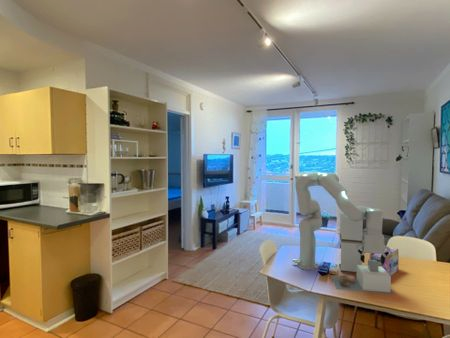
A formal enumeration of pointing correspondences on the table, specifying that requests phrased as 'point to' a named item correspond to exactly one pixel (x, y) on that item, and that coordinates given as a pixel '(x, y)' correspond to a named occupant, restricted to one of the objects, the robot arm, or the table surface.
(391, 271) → the gum box
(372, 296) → the table surface
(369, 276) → the cover
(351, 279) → the brown egg
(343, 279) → the walnut block
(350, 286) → the board
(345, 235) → the tall pale grey box
